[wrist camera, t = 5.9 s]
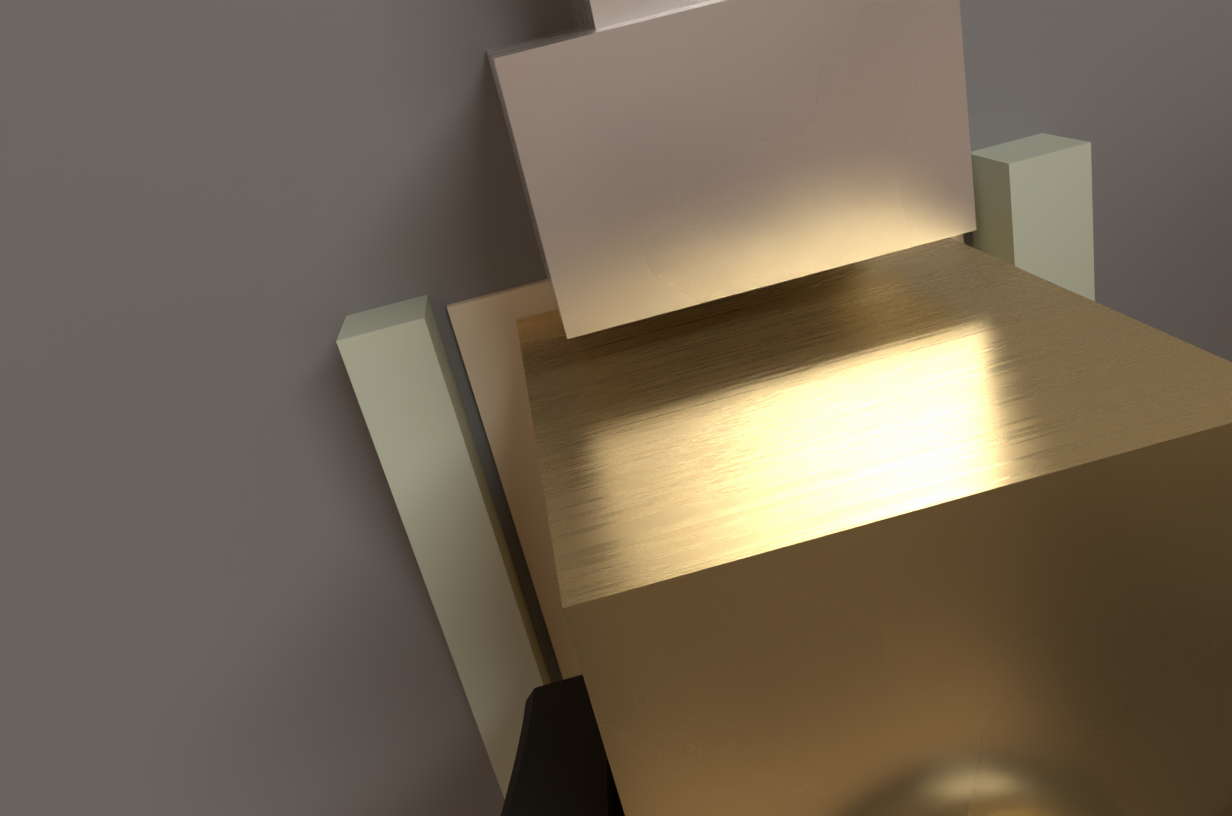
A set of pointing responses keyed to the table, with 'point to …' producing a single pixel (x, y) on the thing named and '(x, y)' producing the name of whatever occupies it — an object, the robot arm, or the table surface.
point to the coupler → (895, 547)
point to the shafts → (733, 145)
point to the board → (398, 370)
